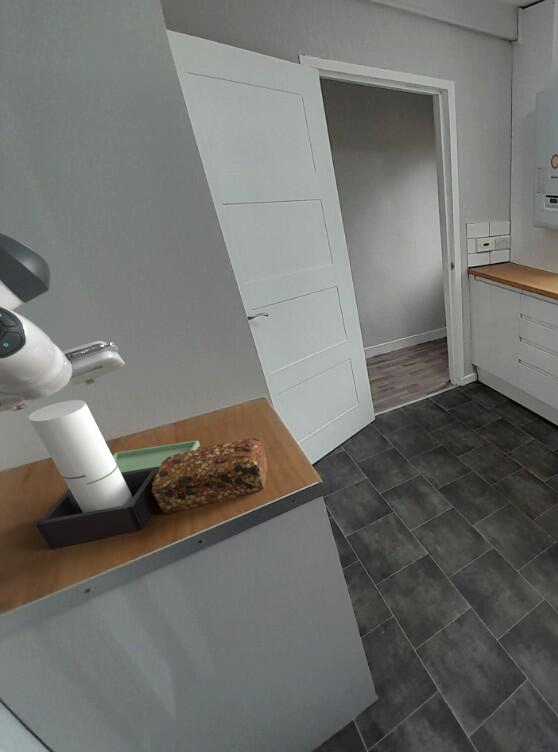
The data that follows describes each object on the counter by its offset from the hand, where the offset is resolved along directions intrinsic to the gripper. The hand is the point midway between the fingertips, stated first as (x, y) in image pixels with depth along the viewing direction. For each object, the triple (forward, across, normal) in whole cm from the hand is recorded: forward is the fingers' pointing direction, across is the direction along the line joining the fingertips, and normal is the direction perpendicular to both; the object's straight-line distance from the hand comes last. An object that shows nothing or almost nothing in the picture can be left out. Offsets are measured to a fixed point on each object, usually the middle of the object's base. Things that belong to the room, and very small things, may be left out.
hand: (55, 391), depth 71 cm
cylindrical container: (+17, +5, +22) cm, 29 cm away
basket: (+17, +5, +22) cm, 28 cm away
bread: (+13, -11, +29) cm, 34 cm away
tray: (+28, -3, +15) cm, 32 cm away
